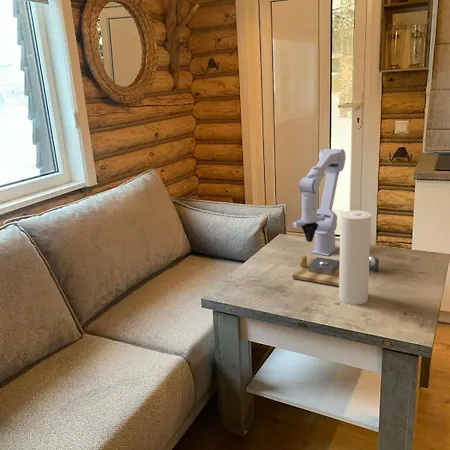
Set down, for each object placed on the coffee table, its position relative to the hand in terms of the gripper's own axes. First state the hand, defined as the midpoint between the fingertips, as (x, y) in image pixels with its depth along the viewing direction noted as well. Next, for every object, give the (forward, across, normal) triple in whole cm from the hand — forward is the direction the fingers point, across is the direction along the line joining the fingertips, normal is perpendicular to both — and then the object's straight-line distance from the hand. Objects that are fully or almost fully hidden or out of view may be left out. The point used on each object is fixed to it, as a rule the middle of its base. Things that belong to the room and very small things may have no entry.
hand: (309, 241), depth 180 cm
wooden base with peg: (+10, +2, +11) cm, 15 cm away
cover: (+8, +2, +10) cm, 13 cm away
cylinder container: (+10, +7, +31) cm, 34 cm away
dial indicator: (+10, -15, +20) cm, 27 cm away
